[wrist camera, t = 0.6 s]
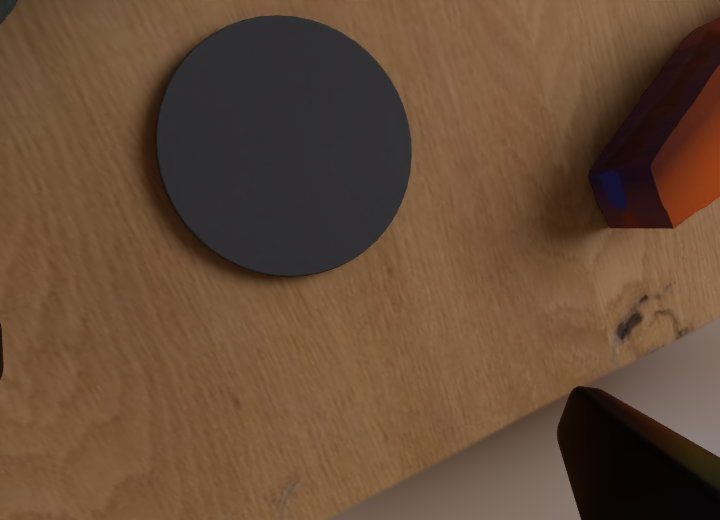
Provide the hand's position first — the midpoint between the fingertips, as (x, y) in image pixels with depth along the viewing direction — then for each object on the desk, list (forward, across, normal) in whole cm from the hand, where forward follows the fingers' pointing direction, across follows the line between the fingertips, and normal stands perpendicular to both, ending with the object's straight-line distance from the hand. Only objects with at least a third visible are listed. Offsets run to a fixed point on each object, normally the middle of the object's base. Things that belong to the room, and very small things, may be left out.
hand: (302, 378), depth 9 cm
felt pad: (+15, +1, 0) cm, 15 cm away
